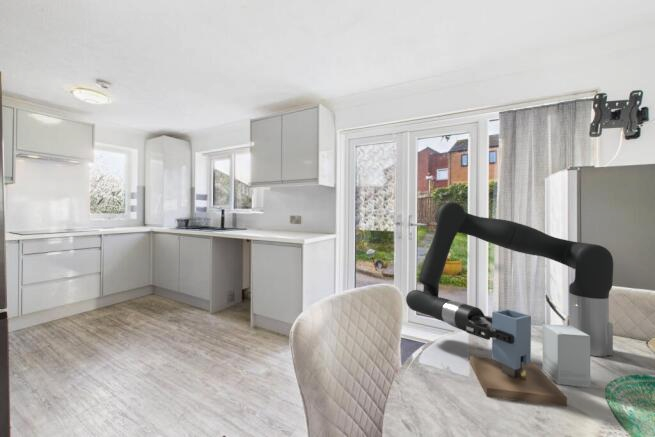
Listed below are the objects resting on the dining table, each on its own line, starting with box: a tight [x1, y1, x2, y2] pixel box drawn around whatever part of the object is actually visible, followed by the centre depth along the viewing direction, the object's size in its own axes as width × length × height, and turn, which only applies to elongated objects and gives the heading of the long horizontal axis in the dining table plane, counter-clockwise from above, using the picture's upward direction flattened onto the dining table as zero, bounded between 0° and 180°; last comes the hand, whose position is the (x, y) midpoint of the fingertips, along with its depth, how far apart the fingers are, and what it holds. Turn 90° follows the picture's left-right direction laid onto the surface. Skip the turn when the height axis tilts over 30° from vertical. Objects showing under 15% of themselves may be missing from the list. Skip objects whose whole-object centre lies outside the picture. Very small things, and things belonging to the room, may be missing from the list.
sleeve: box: [491, 308, 532, 370], centre depth 73 cm, size 6×6×12 cm
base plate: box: [469, 355, 568, 407], centre depth 73 cm, size 16×16×2 cm
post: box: [502, 356, 526, 381], centre depth 73 cm, size 5×5×7 cm
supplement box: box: [541, 323, 591, 388], centre depth 75 cm, size 7×7×13 cm
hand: (521, 337), depth 71 cm, fingers closed on sleeve, 6 cm apart
